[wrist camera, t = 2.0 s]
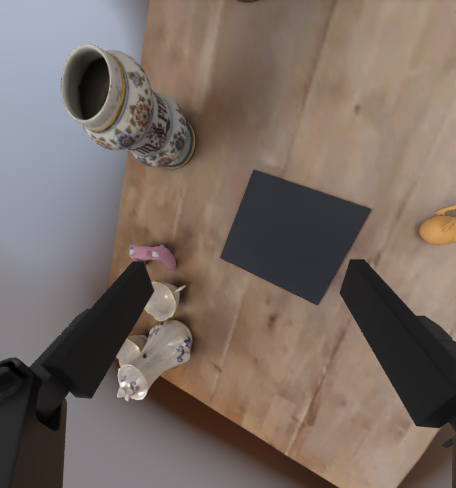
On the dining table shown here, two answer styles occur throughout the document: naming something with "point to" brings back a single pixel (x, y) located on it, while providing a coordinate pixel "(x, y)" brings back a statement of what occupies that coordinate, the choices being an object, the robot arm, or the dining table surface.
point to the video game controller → (153, 255)
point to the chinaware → (154, 345)
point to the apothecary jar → (124, 108)
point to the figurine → (440, 228)
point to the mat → (292, 235)
